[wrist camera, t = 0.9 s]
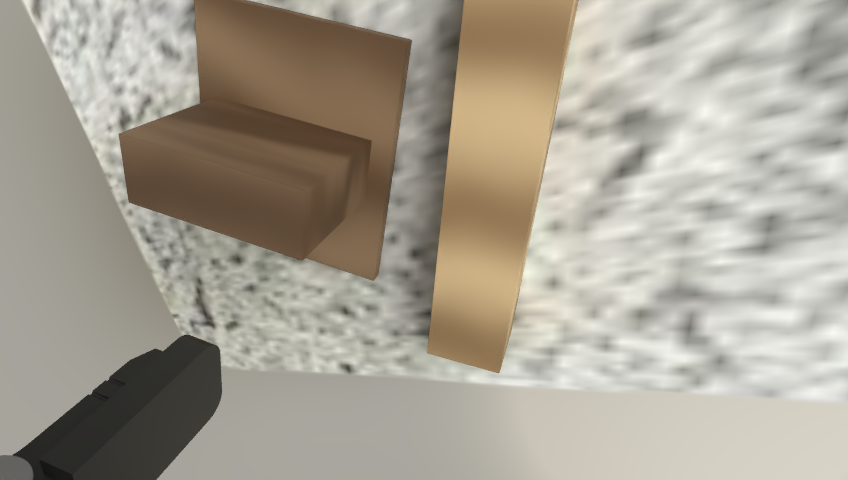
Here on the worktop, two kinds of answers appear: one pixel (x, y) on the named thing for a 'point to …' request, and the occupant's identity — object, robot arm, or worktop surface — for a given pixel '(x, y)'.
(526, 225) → the oak rod
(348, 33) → the walnut fulcrum
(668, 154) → the worktop surface
